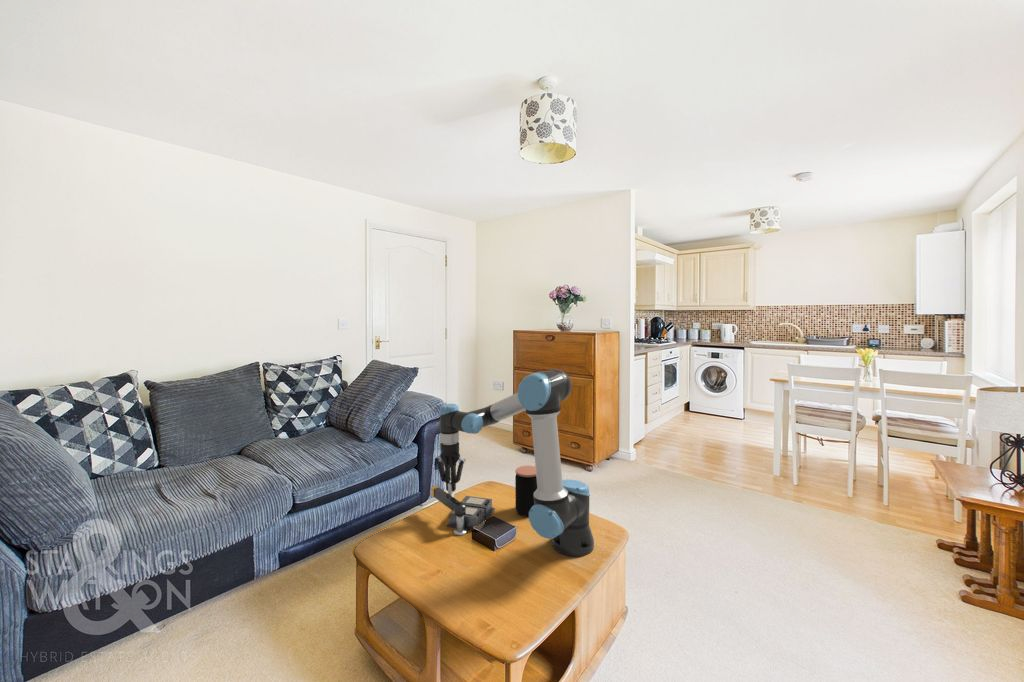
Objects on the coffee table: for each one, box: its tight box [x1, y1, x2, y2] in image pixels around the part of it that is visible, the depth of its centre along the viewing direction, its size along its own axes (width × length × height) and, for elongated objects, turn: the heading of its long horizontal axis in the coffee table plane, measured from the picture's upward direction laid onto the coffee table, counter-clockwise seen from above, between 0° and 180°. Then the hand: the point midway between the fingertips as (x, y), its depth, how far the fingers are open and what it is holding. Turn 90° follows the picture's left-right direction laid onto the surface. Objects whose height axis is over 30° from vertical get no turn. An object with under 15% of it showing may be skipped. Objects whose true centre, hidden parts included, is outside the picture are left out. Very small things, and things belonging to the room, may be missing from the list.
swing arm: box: [430, 485, 466, 516], centre depth 165 cm, size 24×4×4 cm, turn 38°
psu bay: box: [446, 495, 496, 531], centre depth 169 cm, size 14×18×6 cm
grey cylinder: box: [453, 515, 468, 537], centre depth 158 cm, size 5×5×7 cm
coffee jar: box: [514, 465, 537, 518], centre depth 174 cm, size 11×11×18 cm
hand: (451, 498), depth 169 cm, fingers closed
